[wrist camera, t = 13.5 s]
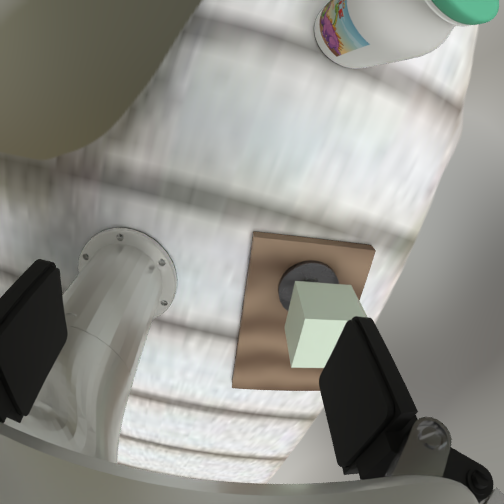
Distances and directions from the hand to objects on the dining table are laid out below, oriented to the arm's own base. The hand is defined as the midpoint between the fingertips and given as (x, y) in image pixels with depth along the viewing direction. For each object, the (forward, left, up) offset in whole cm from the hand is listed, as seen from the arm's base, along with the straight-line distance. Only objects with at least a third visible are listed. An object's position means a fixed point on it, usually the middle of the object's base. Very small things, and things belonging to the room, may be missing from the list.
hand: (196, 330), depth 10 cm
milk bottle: (+17, +8, -25) cm, 32 cm away
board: (-1, -22, -25) cm, 33 cm away
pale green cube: (+3, -16, -19) cm, 25 cm away
